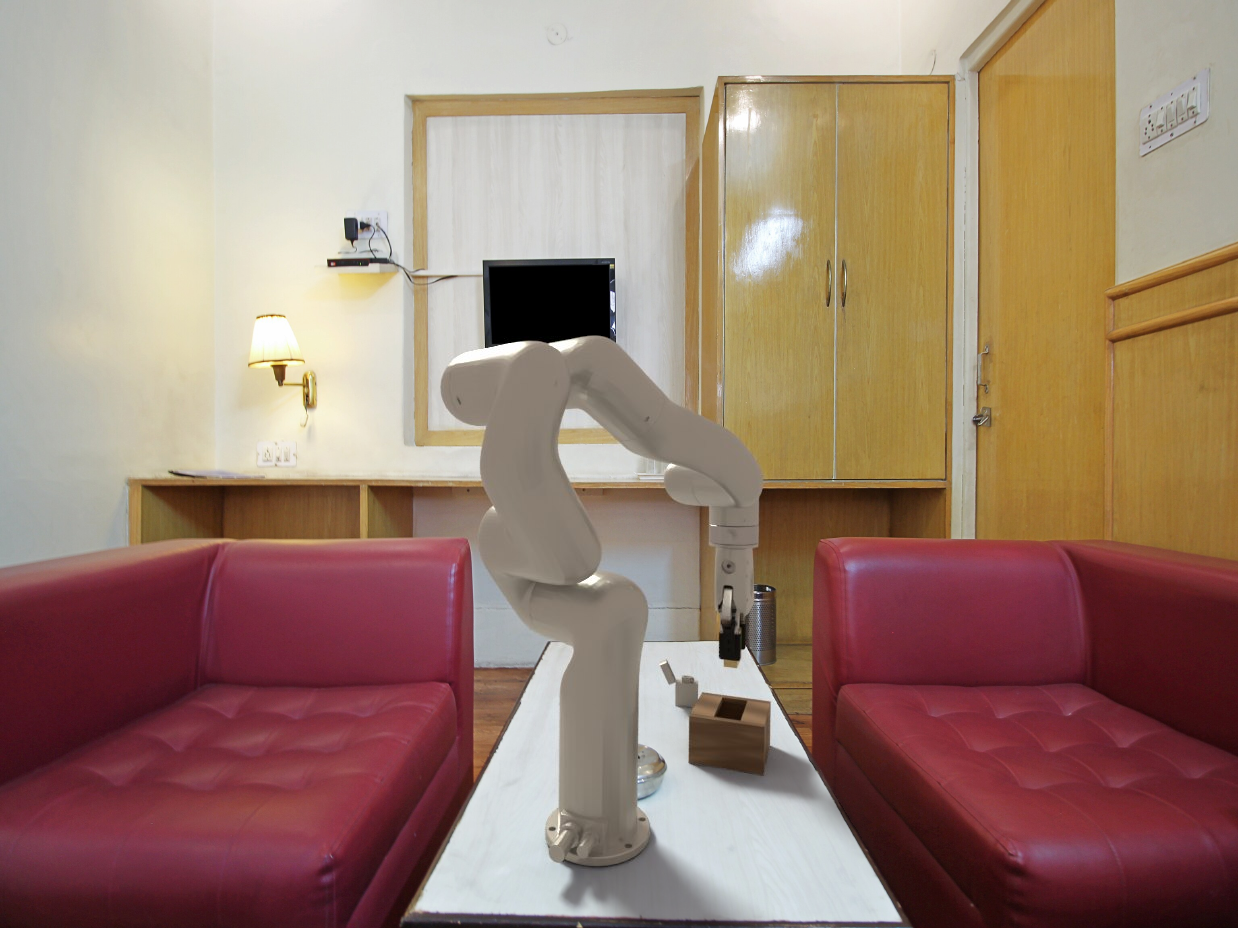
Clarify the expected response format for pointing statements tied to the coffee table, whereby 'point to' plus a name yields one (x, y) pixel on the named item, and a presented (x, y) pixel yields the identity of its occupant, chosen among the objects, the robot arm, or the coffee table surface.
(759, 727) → the box
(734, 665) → the gold metal block
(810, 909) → the coffee table surface
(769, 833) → the coffee table surface
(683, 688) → the lighter
